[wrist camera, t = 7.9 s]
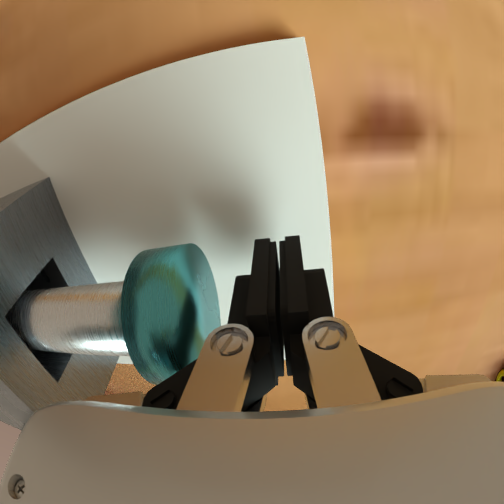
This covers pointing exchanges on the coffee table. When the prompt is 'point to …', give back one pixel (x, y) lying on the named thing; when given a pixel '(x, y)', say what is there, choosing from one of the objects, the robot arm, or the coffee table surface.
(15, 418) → the shaft housing
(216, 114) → the mounting board
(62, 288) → the steel shaft
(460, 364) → the coffee table surface
